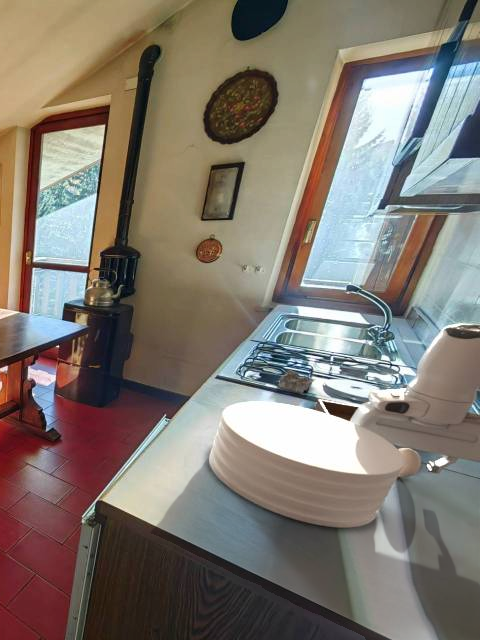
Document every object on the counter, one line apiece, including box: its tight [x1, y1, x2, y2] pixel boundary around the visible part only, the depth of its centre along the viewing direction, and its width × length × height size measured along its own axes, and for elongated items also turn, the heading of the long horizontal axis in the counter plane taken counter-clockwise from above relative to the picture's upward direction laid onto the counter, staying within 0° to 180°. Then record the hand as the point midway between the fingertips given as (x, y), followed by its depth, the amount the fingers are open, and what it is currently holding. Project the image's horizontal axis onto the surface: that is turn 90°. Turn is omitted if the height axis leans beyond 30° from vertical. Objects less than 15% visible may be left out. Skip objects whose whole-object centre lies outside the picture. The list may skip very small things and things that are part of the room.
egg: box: [397, 447, 422, 478], centre depth 82 cm, size 5×5×7 cm
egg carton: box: [277, 369, 316, 393], centre depth 127 cm, size 11×8×4 cm
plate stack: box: [208, 401, 404, 529], centre depth 80 cm, size 28×28×12 cm
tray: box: [314, 398, 360, 422], centre depth 102 cm, size 19×14×3 cm
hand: (400, 464), depth 82 cm, fingers open, 8 cm apart
